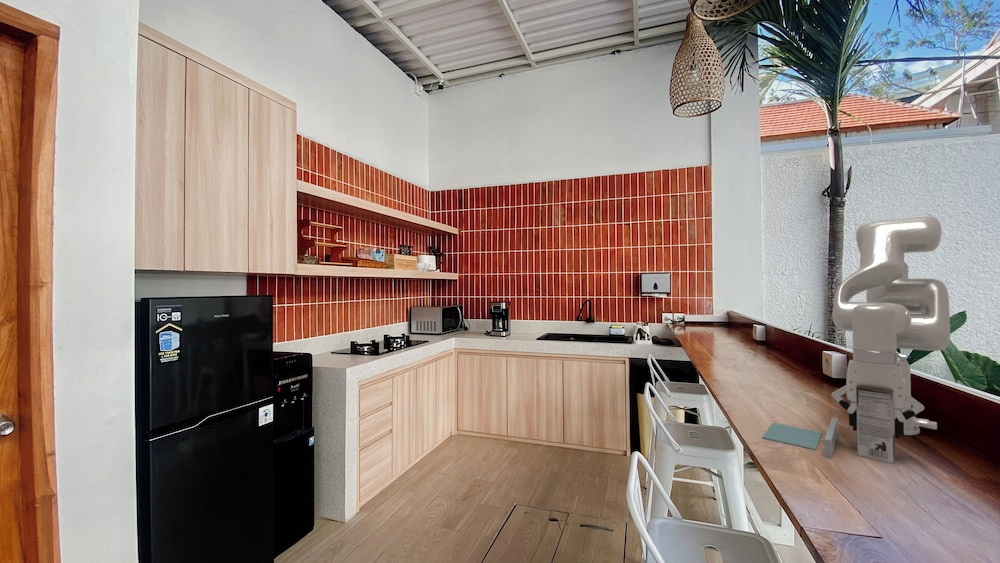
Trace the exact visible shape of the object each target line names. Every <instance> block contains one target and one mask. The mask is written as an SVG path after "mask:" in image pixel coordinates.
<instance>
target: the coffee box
mask: <svg viewBox="0 0 1000 563" xmlns="http://www.w3.org/2000/svg"><path fill="white" fill-rule="evenodd" d="M856 395H857V408H856V412H857V431H856V448H857V450H856V451H857V454H856V455H857V456H860V457H863V458H868V459H873V460H877V461H880V462H881V461H882V462H886V463H890V464H895V456H896V454H895V453H896V452H895V450H896V445H895V443H896V440H895V413H894V391H893V390H887V389H881V388H875V387H867V386H858V385H857V386H856Z"/></svg>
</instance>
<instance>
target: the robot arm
mask: <svg viewBox="0 0 1000 563" xmlns="http://www.w3.org/2000/svg"><path fill="white" fill-rule="evenodd" d="M855 235H856V237H855V238H856V240H855V241H856V244H857V247H858V251H859V253H860V258H859V269H858V270H855V272H852V273H851V274H850V275H849V276H848V277H846V278H845V279H844V280H843V281H842V282H841V283H840V284H839V286H837V289H836V290H835V294H834V299H833V305H832V323H833V324H834V325H835V327H836V328H837V329H839V330H840V331H845V332H847V331H848V332H852V359H849V361H848V365H847V370H846V383H845V384H846V385H843V386H842V387H840V388H838V389H836V390H835V391H833V392H832V393H831V394H830V396H831V397H832V398H833V399H834V400H835V401H836V402H837V403H838V404H839V405H840V406H841V407H842V408H843V409H844V410H845V411H846V412H847V413H848V426H850V427H852V431H853V432H857V395H856V386H857V385H858V386H867V387H875V388H881V389H887V390H893V391H894V413H895V438H896V439H897V440H900V439H901V438H900V436H916V435H919V434H920V433H921V431H920V430H921V429H920V428H924V429H925V428H926V429H929V430H930V429H931V430H938V423H937V421H932V420H931V421H930V419H926V418H918V417H916V415H918V414H919V413H921V412H923V411H924V410H925V406H924V405H923V403H921V402H919V401H918V400H916V398H914V397H912V393H911V392H912V391H911V390H912V388H911V385H912V384H911V383H912V382H911V365H910V364H909V362H908V360H907V356H906V354H901V353H900V352H898V351H897V349H902V350H903V349H904V350H905V349H906V350H915V351H916V350H918V351H929V352H933V351H934V352H935V351H936V352H937V351H943V350H945V349H947V348H948V347H949V344H950V341H951V340H950V339H951V319H950V314H951V313H950V298H949V297H950V296H949V290H948V288H947V286H946V284H945V283H944V282H943V281H942V280H939V279H935V278H909V266H908V264H907V262H905V254H908V253H910V254H911V253H928V252H933V251H935V250H936V249H937V248H938V247H939V245H940V242H941V238H942V237H941V236H942V226H941V222H940V220H939V219H938V218H936V217H934V216H919V217H908V218H897V219H894V218H893V219H885V220H878V221H877V220H876V221H872V222H867V223H864V224H862V225H861V226H859V227H858V228H857V230H856V234H855ZM865 291H866V294H865V295H866V301H850V300H851V299H852V298H854V296H856V295H857V294H860V293H862V292H865ZM844 394H845V395H846V398H847V399H844V398H843V397H842V395H844ZM846 400H848V401H849V402H850V403H849V402H847V401H846Z"/></svg>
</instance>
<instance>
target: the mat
mask: <svg viewBox="0 0 1000 563" xmlns="http://www.w3.org/2000/svg"><path fill="white" fill-rule="evenodd" d="M822 434H823V432H822V431H816V430H811V429H807V428H800V427H797V426H792V425H786V424H782V423H776V422H772V423H771V424H770V426H769V427H768V428H767V429H766V431H765V432H764V433H763V435H762V437H761V439H763V438H766V439H765V440H768V439H769V440H768V441H772V440H774V441H773V442H777V441H778V442H777V443H783V444H787V445H791V446H796V447H801V448H803V449H804V448H805V449H810V450H814V451H816V450H817V448H818V445H819V442H820V441H821V437H822Z"/></svg>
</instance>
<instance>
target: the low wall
mask: <svg viewBox="0 0 1000 563" xmlns="http://www.w3.org/2000/svg"><path fill="white" fill-rule="evenodd" d="M838 434H839V420H838V417H831V419H830V422H829V425H828V427H827V431H826V433H825V437H824V457H825V458H830V459H832V457H833V454H834V450H835V447H836V446H835V445H836V443H837V439H838Z"/></svg>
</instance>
